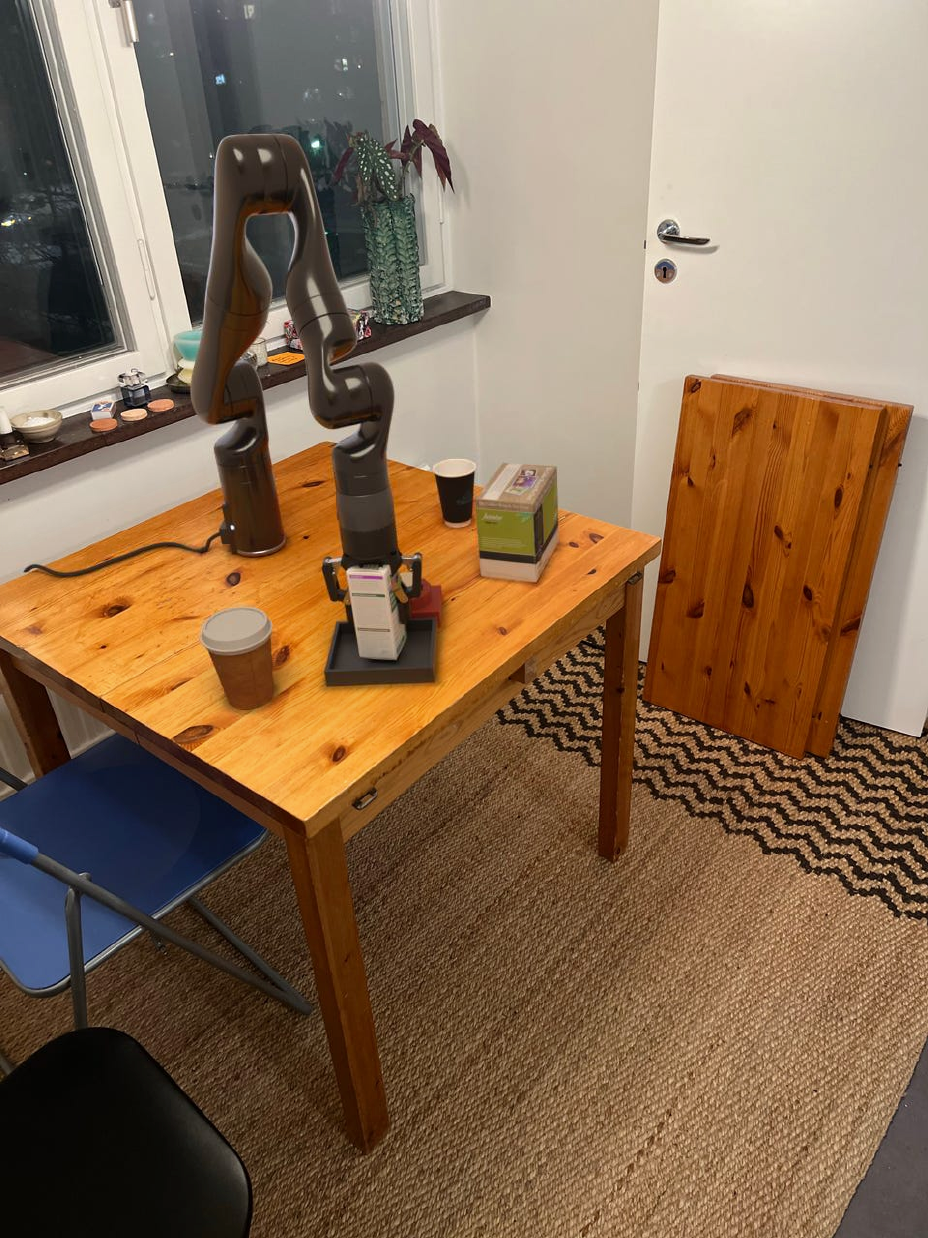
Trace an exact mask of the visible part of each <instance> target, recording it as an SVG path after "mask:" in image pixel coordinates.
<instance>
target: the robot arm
mask: <svg viewBox="0 0 928 1238" xmlns="http://www.w3.org/2000/svg"><path fill="white" fill-rule="evenodd" d="M309 165H310V164H309V161H308V159H307V156H306V153H305V152H304V149H303V148H302V146H301V144H300V143H299V141H298V140H297V139H296V138H294V137H293V136H292V135H290V134H289V135H288V134H283V133H281V134H280V133H254V134H252V133H250V134H249V133H248V134H247V133H246V134H245V133H243V134H234V135H228V136H225V137H224V138H222V140H221V141H220V143H219V144H218V147H217V149H216V156H215V162H214V177H213V178H214V180H213V185H214V186H213V221H212V222H213V223H212V224H213V226H212V227H213V229H212V241H211V251H210V259H209V267H208V273H207V279H206V285H205V293H204V294H205V295H204V307H203V308H204V309H203V318H202V319H203V320H202V328H201V335H200V339H199V340H200V341H199V346H198V350H197V353H196V357H195V361H194V364H193V369H192V373H191V379H190V399H191V403H192V407H193V410H194V412H195V414H196V416H197V417H198V418H199V420H201V422H203V423H205V424H207V425H210V426H218V425H219V426H220V425H224V424H227V423H232V422H234V423H233V425H232V427H231V428H230V429H229V430H228V431H227V432H226V433H225V434H223V435H222V436H221V437H219V438H218V439H217V440H216V442H214V444H213V455H214V458H215V463H216V468H217V473H218V478H219V482H220V487H221V491H222V497H223V503H222V504H221V509H222V514H223V521H222V522H221V524H220V526H219V528H218V532H216V533H214V534H212V535H210V537H208V539H207V540H206V542H205V546H204V547H201V548H198V549H197V548H192V547H190V546H187V545H183V544H181V543H179V542H173V541H164V542H162V541H161V542H156V543H153V544H149V545H145V546H143V547H140V548H138V549H135V550H133V551H129V552H128V553H125V554H122V555H119V556H116V557H113V558H110V559H107V560H105V561H102V562H100V563H97V564H94V565H92V566H89V567H86V568H83V569H79V570H75V571H69V572H67V571H66V572H65V571H58V570H54V569H51V568H50V567H47V566H44V565H41V564H38V563H32V564H29V565H28V566H26V568H24V570H23V573H26V574H27V573H29V572H30V571H31V570H33V569H38V570H41V571H44V572H46V573H48V574H50V575H53V576H56V577H57V576H58V577H74V576H79V575H83V574H84V575H85V574H86V573H89V572H93V571H95V570H97V569H100V568H103V567H106V566H108V565H111V564H114V563H115V562H119V561H122V560H125V559H128V558H131V557H133V556H135V555H138V554H141V553H143V552H146V551H149V550H151V549H156V548H160V547H174V548H175V547H176V548H179V549H182V550H186V551H189V552H194V553H198V554H199V553H200V554H201V553H205V552H207V551H208V550H209V549H210V546H211V543H212V541H214V540H215V539H216V538H218V537H220V541H221V545H229V546H230V551H231V554H232V555H238V556H239V555H240V556H242V557H249V558H259V557H263V556H269V555H272V554H274V553H276V552H278V551H280V550H282V549H283V548H284V547H285V545H286V544H287V538H286V534H285V530H284V525H283V524H284V523H283V519H282V513H281V507H280V501H279V496H278V491H277V486H276V479H275V473H274V468H273V464H272V458H271V457H272V456H271V452H270V446H269V444H270V443H269V442H270V435H269V429H268V428H269V427H268V421H267V420H268V419H267V412H266V405H265V403H266V402H265V396H264V390H263V385H262V383H261V382H262V381H261V379H260V376H259V373H258V371H257V370H256V368H255V366H254V365H253V364H252V363H251V362H249V361H248V360H245V359H242V357H243V356H244V355H245V353H246V352H248V351H249V349H250V348H251V347H252V346H253V345H254V343H255V342H256V341H257V340H258V338H259V337H260V336H261V334H262V333H263V331H264V329H265V327H266V325H267V322H268V318H269V314H270V308H271V302H272V298H273V291H274V290H273V282H272V281H273V280H272V278H271V275H270V273H269V270H268V269H267V267H266V266H265V264H264V262H263V260H262V259H261V258H260V256H259V254H258V253H257V251H256V250H255V248H254V247H253V246H252V244H251V242H250V240H249V238H248V236H247V223H248V220H249V219H250V218H251V217H252V216H269V215H285V214H287V215H288V216H289V218H290V221H291V222H292V225H293V230H294V243H293V250H292V254H291V258H290V261H289V265H288V269H287V270H288V271H287V273H286V279H285V287H284V291H285V302H286V306H287V307H286V308H287V311H288V313H289V315H290V318H291V321H292V323H293V326H294V329H295V331H296V334H297V337H298V339H299V342H300V345H301V349H302V352H303V356H304V362H305V370H306V376H307V395H308V405H309V411H310V413H311V415H312V417H313V418H314V420H315V421H316V422H317V423H318V424H319V425H320V426H322V427H323V428H324V429H327V430H339V429H344V428H348V427H352V426H356V425H359V427H358V429H357V431H355V432H354V433H353V434H351V435H350V436H348V437H346V438H344V439H341V440H340V441H339V442H337V443H336V444H335V445H334V446H333V448H332V450H331V464H332V471H333V479H334V483H335V484H334V485H335V503H336V504H335V505H336V518H337V519H336V520H337V521H338V527H339V528H338V529H339V533H340V542H341V548H342V555H341V557H337V558H332V557H331V556H325V557H324V558H323V561H322V564H321V572H322V574H323V579H324V582H325V583H324V584H325V587H326V590H327V593H328V598H329V600H330V602H333V603H337V602H341V603H342V604H344V609H345V616H346V621H348V622H349V623H352V626H355V625H354V619H353V613H352V606H351V600H350V593H349V587H348V586H347V587H346V589H343V588H341V585H340V582H339V578H338V574H339V571H340V568H342V569H343V570H344V571H345V573H346V572H347V570H348V568H350V567H354V566H359V568H363V567H364V565H371V564H377V565H378V567H379V568H383V565H389V566H390V570H391V575H390V580H391V584H392V585H391V586H392V592H394V593H395V595H396V596H397V597H398V599H399V610H400V619H401V624H406V622H407V620H410V617H411V607H410V599H412V598H419V597H420V596H421V585H422V578H423V554H422V553H421V552H420V551H416V552H414V554H408V555H407V554H403V553H402V552H401V550H400V547H399V541H398V540H399V539H398V532H397V522H396V513H395V504H394V503H395V502H394V496H393V492H392V488H391V483H390V475H389V466H388V456H387V453H388V445H389V436H390V432H391V431H390V430H391V424H392V419H393V415H394V414H393V413H394V410H395V409H394V408H395V399H396V397H395V386H394V382H393V380H392V377H391V375H390V373H389V372H388V370H387V369H386V368H385V367H384V366H383V365H381V364H380V363H379V362H374V361H368V362H367V361H366V362H363V363H357V364H352V365H346V366H343V367H338V368H333V369H332V367H331V365H330V364H331V363H333V362H335V361H337V360H339V359H342V358H343V357H345V356H347V355H348V354H350V353H351V352H352V351H354V349H355V347H356V346H357V343H358V339H359V337H358V332H357V328H356V327H355V323H354V321H353V318H352V316H351V313H350V310H349V307H348V305H347V303H346V301H345V297H344V295H343V292H342V290H341V288H340V285H339V282H338V279H337V276H336V273H335V269H334V265H333V262H332V257H331V253H330V249H329V245H328V239H327V235H326V231H325V226H324V222H323V217H322V212H321V208H320V204H319V201H318V196H317V192H316V187H315V184H314V179H313V176H312V171H311V169H310V166H309ZM402 565H403V566H404V565H405V567H406V569H407V571H408V572H409V573H412V586H409V587H407V586H406V584H405V583H404V582H403V580H402V577H401V575H400V574H401V573H400V572H399V573H398V572H397V571H398V570H400V569H401V568H402ZM396 573H397V578H396V580H394V578H393V577H394V575H395V574H396Z"/></svg>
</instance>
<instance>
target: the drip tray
mask: <svg viewBox="0 0 928 1238" xmlns="http://www.w3.org/2000/svg"><path fill="white" fill-rule="evenodd" d="M405 627H406V635H407V639H406V641H405V643H404V645H403V647H402V650H401V652H400V653H399V655H398V658H397V660H387V659H372V658H363V657H360V656H359V650H358V644H357V638H356V631H355V626H352V623H349V622H348V621H347V620H341V621H340V620H338V621H337V620H336V621H335V626H334V630H333V635H332V638H331V642H330V645H329V651H328V655H327V658H326V663H325V667H324V670H323V674H324V680H325V685H326V687H327V688H329V687H330V688H332V687H355V686H356V687H357V686H382V685H384V686H385V685H403V684H404V685H406V684H431V683H433V684H434V683H435V682H436V670H437V669H436V668H437V666H436V665H437V652H438V638H439V637H438V635H439V628H438V626H437V617H428V618H410V620H407V622H406V624H405Z"/></svg>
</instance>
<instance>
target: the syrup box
mask: <svg viewBox="0 0 928 1238" xmlns="http://www.w3.org/2000/svg"><path fill="white" fill-rule="evenodd" d="M399 570H400V569H399ZM399 570H398V571H397V572H398V573H399V574H400V571H399ZM345 574H346V580H347V587H349V593H350V600H351V606H352V613H353V619H354V625H355V631H356V638H357V644H358V650H359V656H360V657H363V658H372V659H387V660H397V658H398V655H399V653H400V652H401V650H402V647H403V645H404V643H405V641H406V639H407V635H406V627H405V624H401V619H400V610H399V599H398V597H397V596H396V595H395V593H394V592H392V586H391V585H392V584H391V580H390V575H391V570H390V566H389V565H383V568H379V567H378V565H377V564H371V565H364V567H363V568H359V566H354V567H350V568H348V570H347V572H346V571H345ZM393 578H394V580H396V578H397V573H396V574H395V575H394V577H393Z"/></svg>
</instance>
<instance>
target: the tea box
mask: <svg viewBox="0 0 928 1238" xmlns="http://www.w3.org/2000/svg"><path fill="white" fill-rule="evenodd" d="M557 467H558V466H555V465H554V466H553V465H537V464H535V465H534V464H521V463H509V462H507V463H505V462H502V463H501V464H500V466H499V468H497V469H496V471H495V472H494V474H493V475H492V477H491V478H490V479H489V480H488V482H487V483H486V484H485V486H483V488H482V490H480V492H479V494H477V496H476V497H475V518H476V531H477V543H478V545H477V546H478V555H479V557H478V559H479V571H480V576H481V577H483V578H489V579H496V580H497V579H498V580H505V581H513V582H522V583H535V584H536V583H537V582H538V580H539V578H540V577H541V575H542V573H543V571H544V569H545V567H546V566H547V564H548V562H549V561H550V559H551V557H552V555H553V553H554V552H555V550H556V548H557V546H558V544H559V542H560V529H559V527H560V526H559V501H558V500H559V497H558V495H559V494H558V468H557Z"/></svg>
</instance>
